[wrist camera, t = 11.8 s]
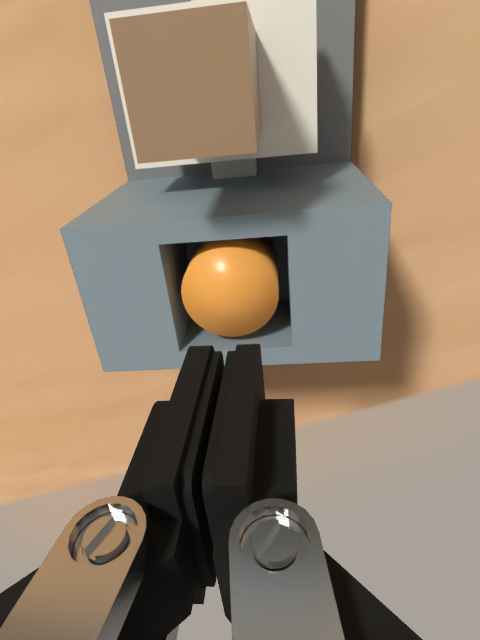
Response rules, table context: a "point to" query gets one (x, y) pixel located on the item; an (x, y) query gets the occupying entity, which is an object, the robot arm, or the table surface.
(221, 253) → the button
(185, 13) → the carriage
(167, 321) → the rail bed
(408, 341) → the table surface
